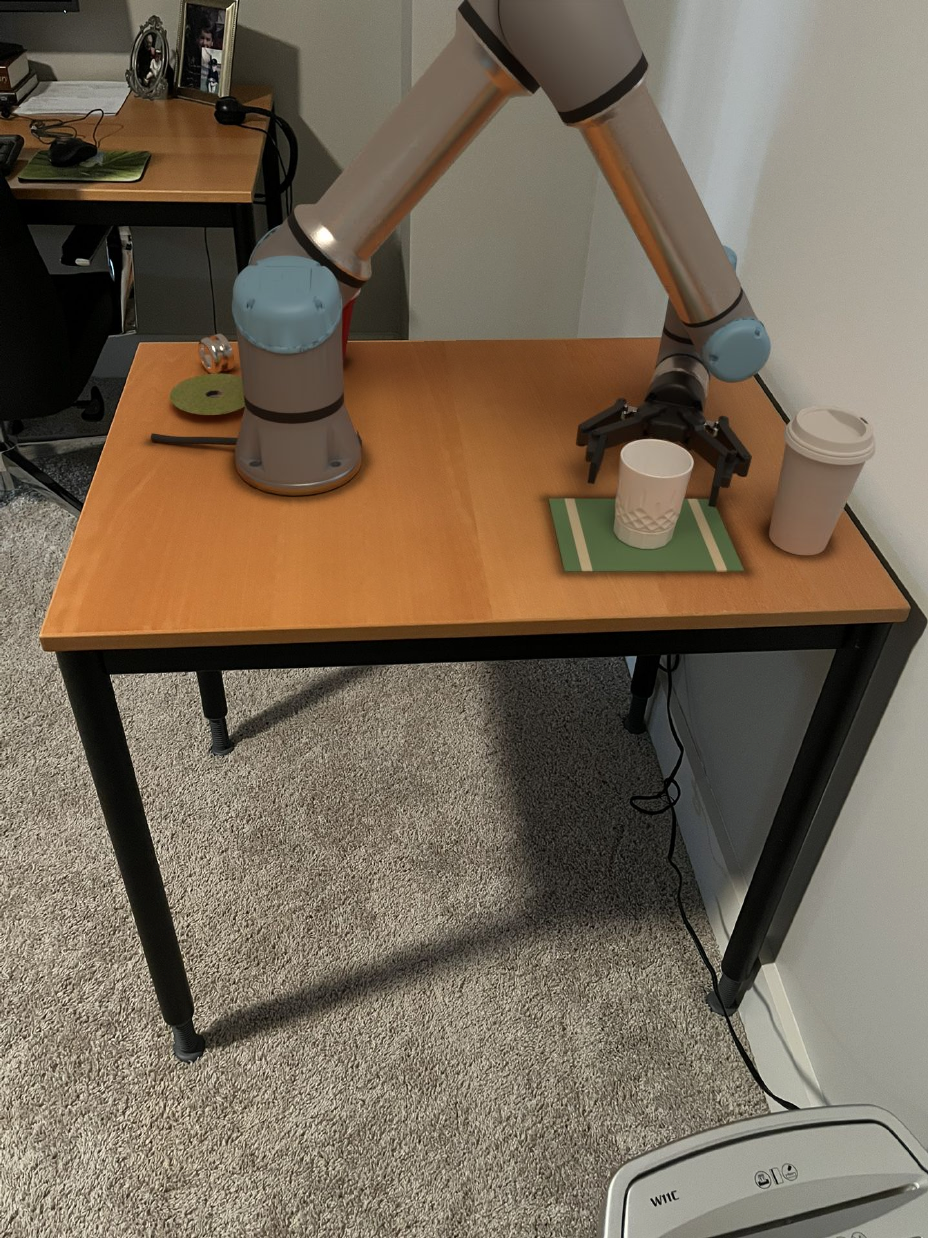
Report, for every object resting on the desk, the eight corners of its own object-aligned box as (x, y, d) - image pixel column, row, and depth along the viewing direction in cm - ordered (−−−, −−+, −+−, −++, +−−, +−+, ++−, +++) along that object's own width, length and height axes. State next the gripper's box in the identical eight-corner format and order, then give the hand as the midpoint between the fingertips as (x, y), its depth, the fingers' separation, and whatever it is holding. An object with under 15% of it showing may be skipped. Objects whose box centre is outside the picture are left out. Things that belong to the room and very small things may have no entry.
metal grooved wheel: (235, 374, 139) (232, 341, 135) (217, 380, 137) (212, 346, 134) (217, 361, 141) (213, 328, 138) (198, 367, 140) (194, 333, 137)
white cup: (633, 560, 110) (648, 483, 103) (594, 522, 115) (606, 447, 108) (690, 542, 113) (708, 467, 106) (650, 506, 118) (664, 432, 111)
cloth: (564, 573, 108) (564, 570, 108) (548, 501, 119) (548, 498, 118) (743, 572, 109) (744, 569, 109) (711, 501, 120) (712, 498, 120)
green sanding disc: (258, 425, 129) (257, 411, 127) (169, 429, 127) (167, 415, 126) (257, 384, 137) (256, 371, 136) (174, 387, 135) (171, 374, 134)
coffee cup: (846, 568, 110) (889, 451, 101) (759, 559, 111) (794, 442, 101) (832, 519, 118) (871, 406, 108) (751, 511, 118) (783, 397, 109)
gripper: (768, 441, 126) (758, 534, 110) (576, 407, 130) (539, 491, 115) (783, 387, 121) (775, 477, 105) (582, 354, 125) (546, 434, 110)
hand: (652, 484), depth 110 cm, fingers open, 13 cm apart
